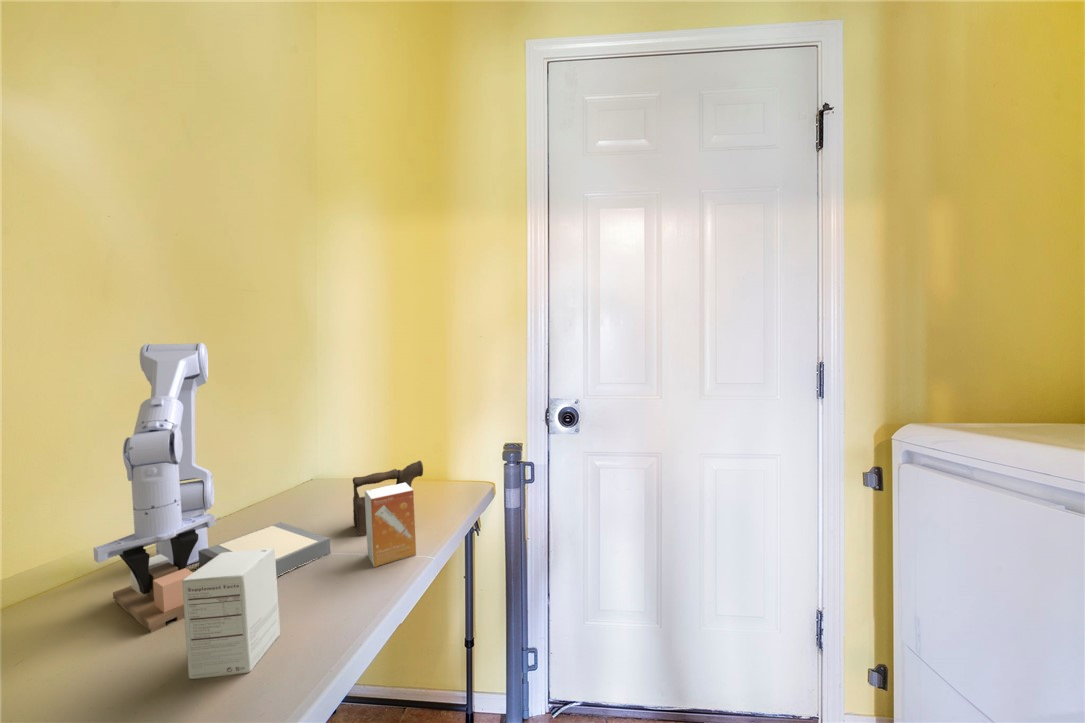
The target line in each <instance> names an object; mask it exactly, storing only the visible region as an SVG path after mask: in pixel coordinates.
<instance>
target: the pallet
mask: <svg viewBox="0 0 1085 723" xmlns="http://www.w3.org/2000/svg"><path fill="white" fill-rule="evenodd" d="M176 571H178V567H176V566H175V565H173V564H171V563H169V562H168V563H165V564H162V565H159V566H156V567H154V568H151V569H149V581H150V593H147V594H143V593H140V594H139V593H138V592H136V591H135V590H134V589H132V588H131V585H129V586H126V587H124V588H121V589H118V590H115V591H113V592H112V599H113V600H114V602H115V603H117V605H118V606H120V607H121V608H122V609H123V610H124V611H126V613H128V614H129V615H130V616H131V617H133V618H134V619H135V620H136V621H137V622H138V623H140V624H141V625H142V626H143V627H144V628H145V629H146V630H148V631H149V632H150V633H153V632H154V633H155V632H156V631H159V630H160V629H163V628H165V627H166V626H167V625H166V622H168V621H171V620H173V619H174V620H176V621H178V622H179V621H180V620H183V619H185V617H184V604H183V605H181V606H178V607H176V608H174V609H171V610H169V611H167V612H165V613H164V612H163V611H161V610H160V609H159V608H157V607H156V606H155V603H154V587H153V580H155V579H158V578H160V577H163V576H166V575H168V574H171V573H174V572H176Z"/></svg>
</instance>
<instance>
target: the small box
mask: <svg viewBox="0 0 1085 723" xmlns="http://www.w3.org/2000/svg"><path fill="white" fill-rule="evenodd" d="M414 495H415V492H414V489H413V488H412V486H411V487H410V486H409V485H407V484H406V483H401V484H396V483H395V484H391V485H386V486H381V487H378V488H373V489H368V490H364V497H365V509H366V532H367V535H366V546H367V556H368V558H369V561H370V562H371V564H372V566H373V568H376V567H379V566H381V565H385V564H389V563H392V562H396V561H399V560H402V559H405V558H409V557H412V556H416V555H417V543H416V542H417V539H416V520H415V519H416V517H415V516H416V515H415V497H414Z"/></svg>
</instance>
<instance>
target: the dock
mask: <svg viewBox="0 0 1085 723" xmlns="http://www.w3.org/2000/svg"><path fill="white" fill-rule="evenodd" d="M271 548H272V549H275V561H276V576H278V575H280V574H282V573H284V572H286V571H288V570H291V569H293V568H295V567H298V566H299V565H302V564H304V563H307V562H309V561H311V560H313V559H316V558H319V557H321V558H323V557H325V556H327V555H330V554H331V538H330V537H327V536H324V535H321V534H318V533H314V532H311V531H309V530H306V529H302V528H299V527H296V526H293V525H291V524H290V525H289V524H287V523H283V522H278V523H274V524H272V525H269V526H266V527H264V528H263V527H262V528H260V529H258V530H255V531H252V532H249V533H246V534H244V535H241V536H238V537H235V538H232V539H229V540H227V541H224V542H221V543H218V544H214V545H213V546H210V547H209V546H208V548H205V549H202V550H199V551H198V555H199V561H198V567H199V568H201V567H202V566H204V565H205V564H207V563H208V562H209V561H211V560H212V559H214V558H215V557H216V556H218V555H219V554H220V553H224V552H235V551H246V550H256V549H271ZM326 554H327V555H326ZM324 555H325V556H324ZM322 556H323V557H322ZM319 559H320V558H319ZM316 560H317V559H316Z"/></svg>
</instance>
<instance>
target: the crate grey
mask: <svg viewBox="0 0 1085 723" xmlns="http://www.w3.org/2000/svg"><path fill="white" fill-rule="evenodd" d="M168 562H169V563H170V561H169V559H168V558H167V557H165V556H163V555H161V554H160V555H157V556H156V555H154V556H152V557H149V569H151V568H154V567H156V566H159V565H162V564H165V563H168ZM129 571H130V586H131V588H132V589H134V590H135V591H136V592H138V593H139V594H140V593H141V592H140V589H139V585H138V583H137V580H136V578H135V576H134V574H133V573H132V571H131V570H129Z"/></svg>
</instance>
